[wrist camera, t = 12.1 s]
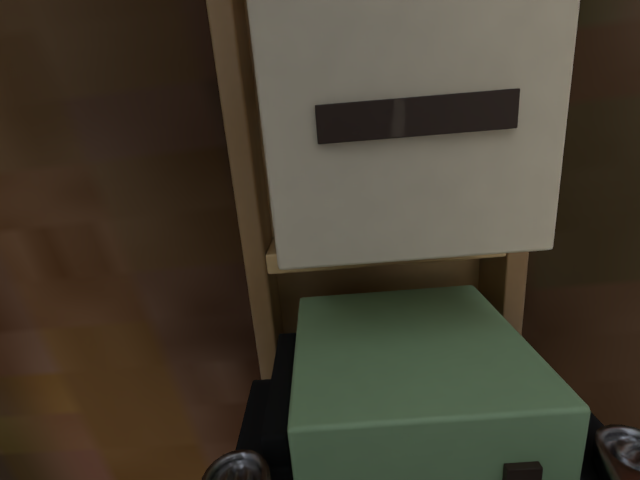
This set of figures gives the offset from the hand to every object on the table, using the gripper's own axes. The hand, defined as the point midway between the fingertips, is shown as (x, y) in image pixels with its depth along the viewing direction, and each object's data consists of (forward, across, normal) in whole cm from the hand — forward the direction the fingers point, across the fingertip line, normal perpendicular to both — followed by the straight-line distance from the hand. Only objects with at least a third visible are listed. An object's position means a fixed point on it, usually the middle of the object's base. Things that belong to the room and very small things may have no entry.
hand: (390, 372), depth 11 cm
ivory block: (+2, 0, -7) cm, 7 cm away
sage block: (0, 0, 0) cm, 0 cm away
